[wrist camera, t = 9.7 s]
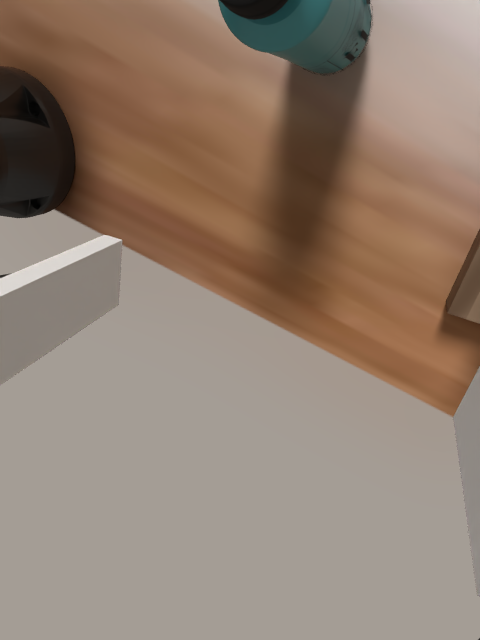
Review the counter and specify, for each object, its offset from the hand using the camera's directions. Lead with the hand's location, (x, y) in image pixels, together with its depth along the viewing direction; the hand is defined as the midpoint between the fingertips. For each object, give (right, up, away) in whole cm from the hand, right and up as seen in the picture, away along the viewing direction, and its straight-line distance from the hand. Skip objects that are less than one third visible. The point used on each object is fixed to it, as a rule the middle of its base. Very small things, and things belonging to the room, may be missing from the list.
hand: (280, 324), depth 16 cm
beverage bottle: (+6, +23, +20) cm, 31 cm away
